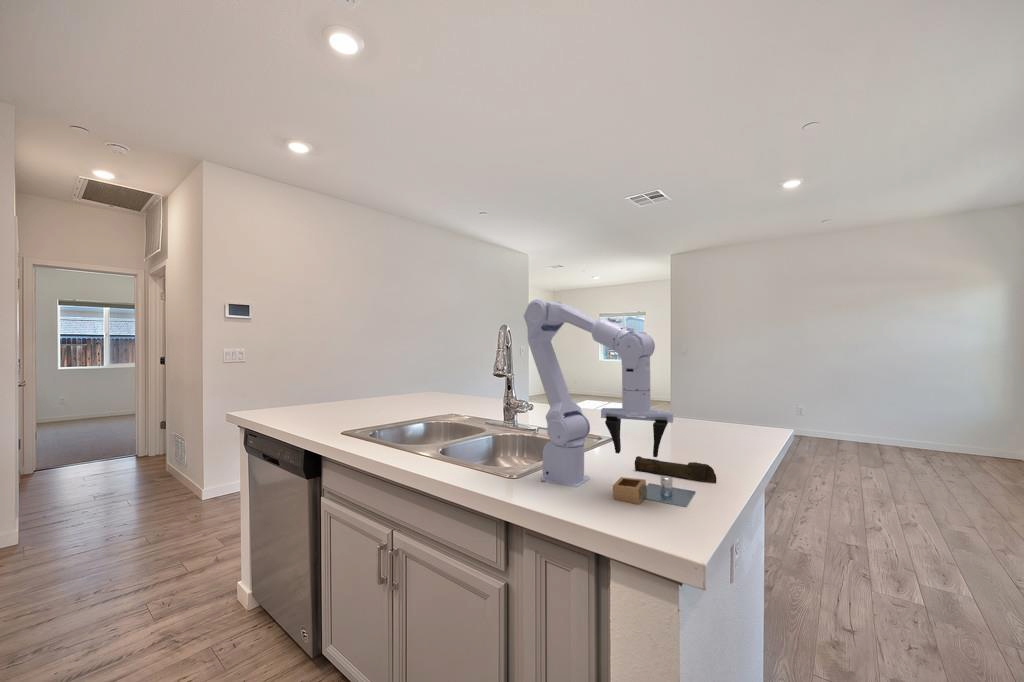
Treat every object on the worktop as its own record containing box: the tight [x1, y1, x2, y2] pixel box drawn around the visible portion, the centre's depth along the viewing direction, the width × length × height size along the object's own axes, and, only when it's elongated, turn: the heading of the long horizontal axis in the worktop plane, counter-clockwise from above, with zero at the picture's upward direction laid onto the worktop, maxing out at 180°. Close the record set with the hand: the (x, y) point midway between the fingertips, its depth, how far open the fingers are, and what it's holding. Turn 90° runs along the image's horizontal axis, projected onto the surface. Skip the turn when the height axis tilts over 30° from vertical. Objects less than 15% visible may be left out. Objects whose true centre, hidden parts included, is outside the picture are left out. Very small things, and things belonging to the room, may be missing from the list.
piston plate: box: [643, 475, 696, 508], centre depth 92 cm, size 10×10×4 cm
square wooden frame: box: [612, 476, 647, 505], centre depth 91 cm, size 5×5×3 cm
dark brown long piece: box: [634, 455, 717, 484], centre depth 105 cm, size 19×4×5 cm, turn 52°
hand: (636, 454), depth 91 cm, fingers open, 7 cm apart
